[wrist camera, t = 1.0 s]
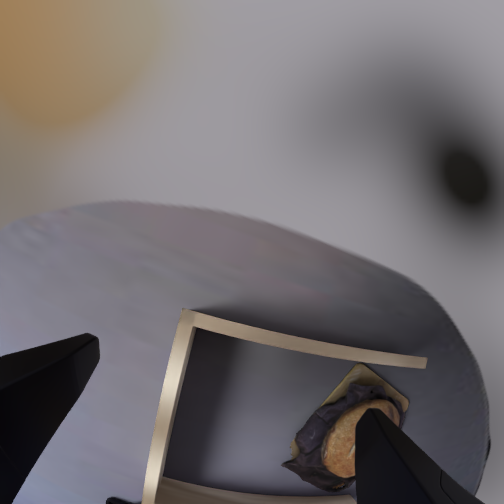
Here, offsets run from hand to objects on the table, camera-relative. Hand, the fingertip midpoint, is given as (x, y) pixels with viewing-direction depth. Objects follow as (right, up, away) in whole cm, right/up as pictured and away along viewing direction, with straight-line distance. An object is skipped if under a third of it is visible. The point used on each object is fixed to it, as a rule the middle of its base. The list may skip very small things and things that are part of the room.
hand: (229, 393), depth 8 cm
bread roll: (+8, -10, +11) cm, 17 cm away
